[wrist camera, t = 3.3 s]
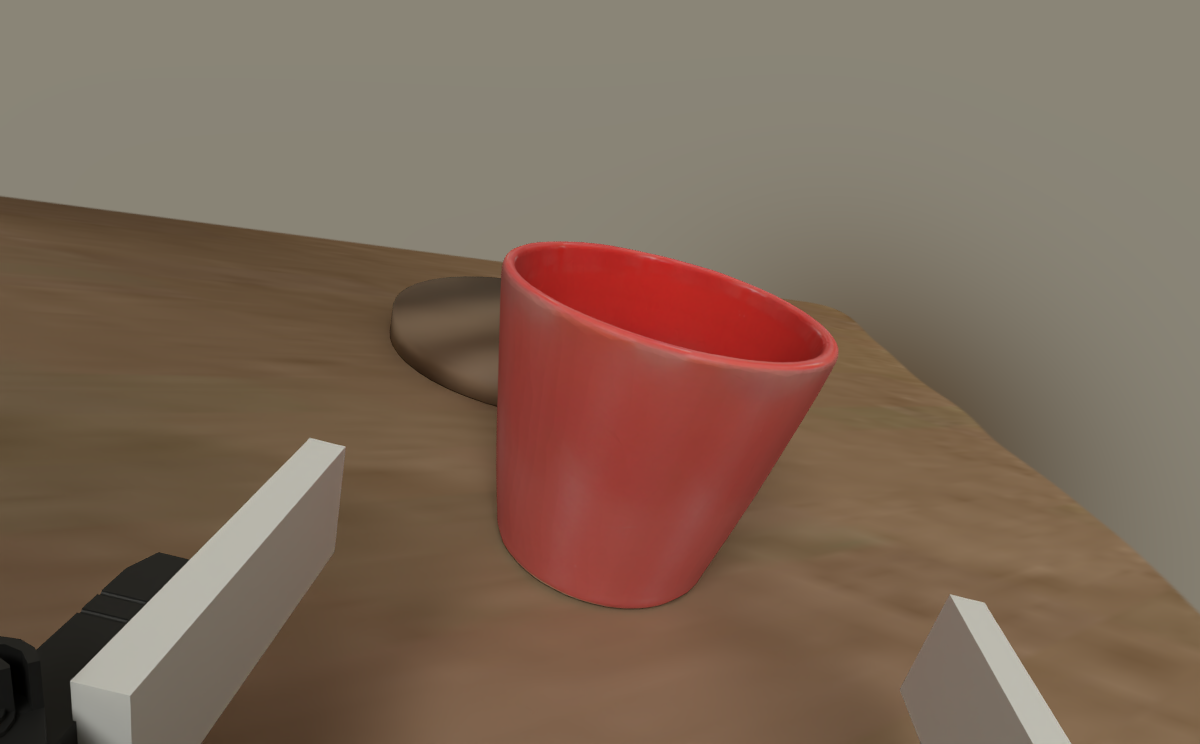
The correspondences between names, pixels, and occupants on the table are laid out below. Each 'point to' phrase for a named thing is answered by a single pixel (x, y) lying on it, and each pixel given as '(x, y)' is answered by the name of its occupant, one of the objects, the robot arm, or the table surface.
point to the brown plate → (451, 333)
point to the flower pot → (639, 414)
